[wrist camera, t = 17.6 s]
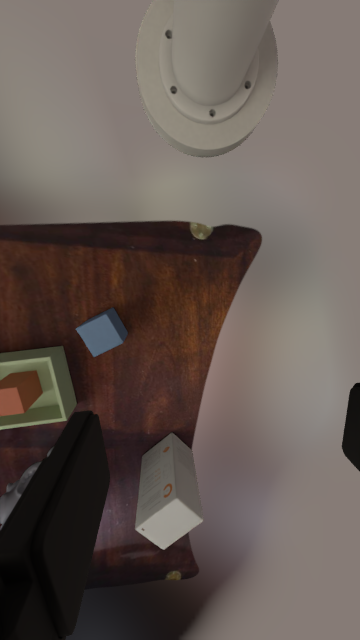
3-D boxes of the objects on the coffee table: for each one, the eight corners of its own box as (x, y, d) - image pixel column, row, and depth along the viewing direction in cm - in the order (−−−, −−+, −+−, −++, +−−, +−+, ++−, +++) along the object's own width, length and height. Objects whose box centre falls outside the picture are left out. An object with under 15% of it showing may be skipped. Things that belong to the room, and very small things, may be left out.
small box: (162, 473, 47) (163, 552, 34) (141, 455, 45) (133, 530, 32) (193, 450, 46) (205, 521, 33) (172, 430, 44) (176, 497, 32)
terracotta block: (9, 373, 38) (-15, 391, 33) (36, 370, 39) (16, 387, 33) (17, 396, 40) (-6, 417, 34) (43, 393, 40) (24, 413, 34)
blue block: (86, 320, 38) (75, 328, 33) (113, 307, 38) (106, 313, 33) (102, 345, 39) (93, 357, 34) (128, 333, 39) (123, 343, 34)
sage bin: (-24, 356, 38) (-49, 368, 33) (63, 345, 39) (50, 356, 34) (-4, 414, 41) (-25, 432, 36) (77, 403, 41) (66, 420, 37)
